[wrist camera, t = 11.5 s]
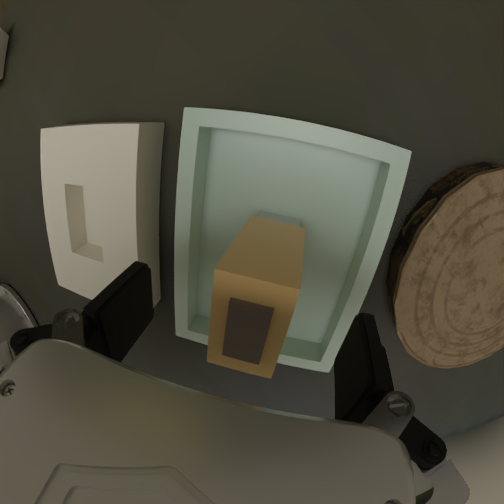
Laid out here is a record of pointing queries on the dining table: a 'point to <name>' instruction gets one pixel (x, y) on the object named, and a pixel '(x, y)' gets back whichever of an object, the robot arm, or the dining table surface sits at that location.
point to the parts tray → (289, 205)
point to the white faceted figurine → (3, 50)
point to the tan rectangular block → (256, 294)
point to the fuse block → (102, 201)
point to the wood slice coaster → (451, 270)
